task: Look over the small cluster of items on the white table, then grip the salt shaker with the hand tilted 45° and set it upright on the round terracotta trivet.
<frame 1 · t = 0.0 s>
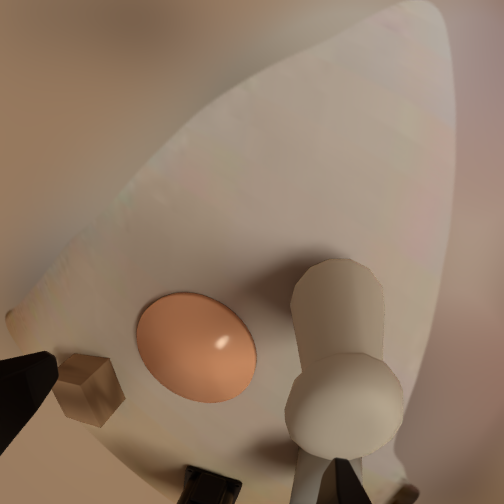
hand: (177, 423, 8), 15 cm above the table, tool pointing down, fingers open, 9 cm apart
walnut block: (99, 375, 29), on the table
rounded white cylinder: (329, 452, 25), on the table
salt shaker: (336, 289, 21), on the table
terracotta trivet: (195, 349, 25), on the table
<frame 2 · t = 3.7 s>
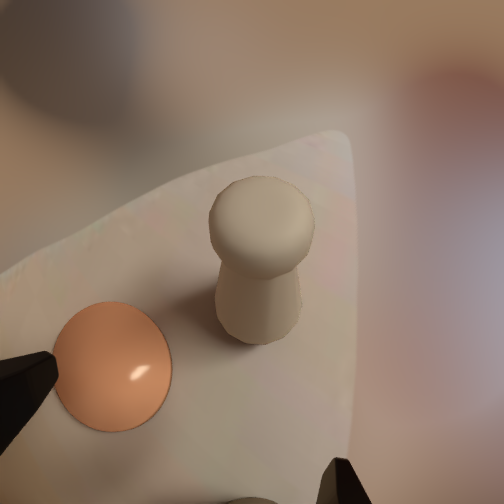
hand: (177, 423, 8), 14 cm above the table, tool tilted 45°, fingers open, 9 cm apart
salt shaker: (258, 313, 24), on the table
terracotta trivet: (109, 367, 21), on the table
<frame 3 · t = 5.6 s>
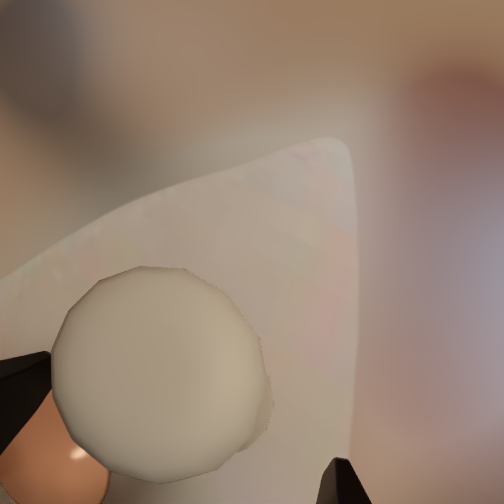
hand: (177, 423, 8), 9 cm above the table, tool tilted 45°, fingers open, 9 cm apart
salt shaker: (217, 401, 16), on the table
terracotta trivet: (42, 448, 14), on the table
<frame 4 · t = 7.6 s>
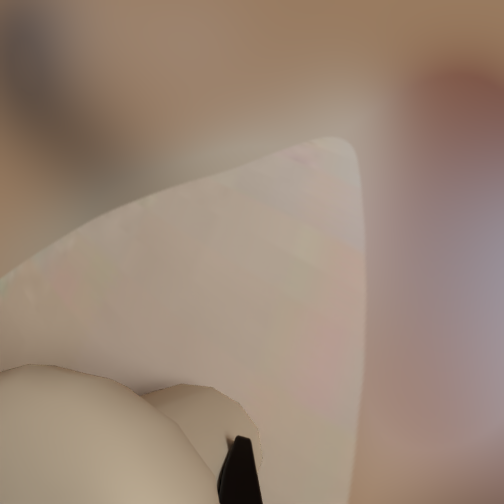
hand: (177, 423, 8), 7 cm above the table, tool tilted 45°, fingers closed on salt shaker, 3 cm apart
salt shaker: (200, 445, 13), on the table, touching gripper
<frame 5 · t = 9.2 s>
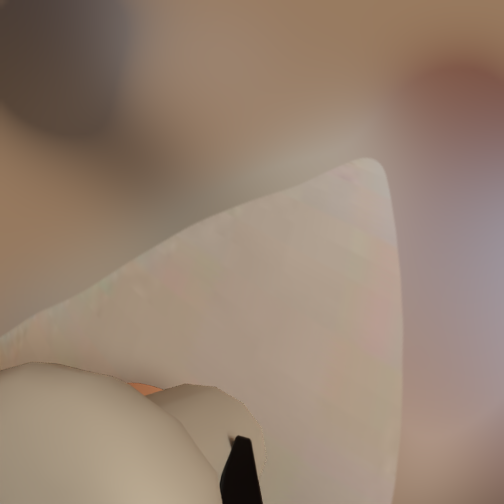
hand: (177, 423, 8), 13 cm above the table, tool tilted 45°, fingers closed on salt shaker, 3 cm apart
salt shaker: (204, 445, 13), point 6 cm above the table, touching gripper
when the fingers open (8 cm above the table, at t = 11.1 s): salt shaker stays where it is, resting on terracotta trivet.
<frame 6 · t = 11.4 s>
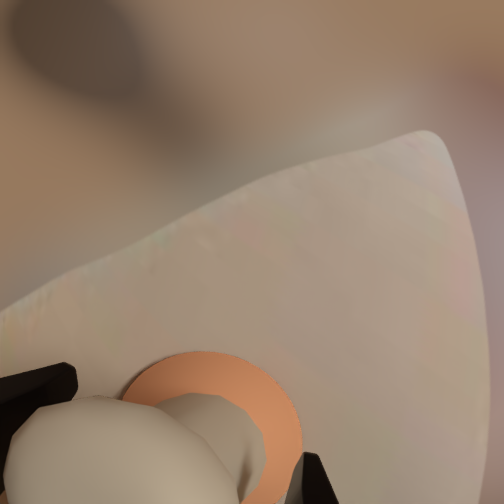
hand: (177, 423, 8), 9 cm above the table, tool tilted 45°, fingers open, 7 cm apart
salt shaker: (207, 448, 14), point 1 cm above the table, touching terracotta trivet
terracotta trivet: (206, 441, 15), on the table
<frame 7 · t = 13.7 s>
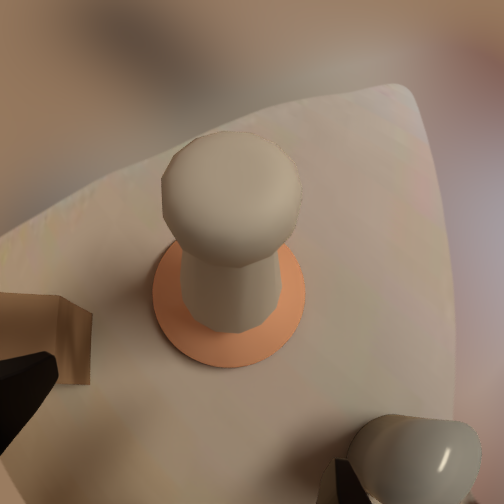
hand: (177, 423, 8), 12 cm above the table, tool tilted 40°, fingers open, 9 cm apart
walnut block: (61, 346, 19), on the table
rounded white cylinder: (386, 453, 18), on the table
salt shaker: (231, 294, 21), point 1 cm above the table, touching terracotta trivet
terracotta trivet: (228, 292, 21), on the table
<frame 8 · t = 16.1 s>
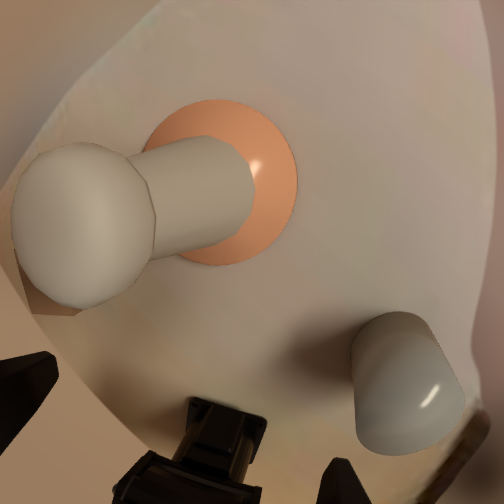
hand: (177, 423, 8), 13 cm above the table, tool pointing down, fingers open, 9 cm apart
walnut block: (83, 261, 23), on the table
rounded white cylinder: (392, 350, 20), on the table
salt shaker: (215, 187, 19), point 1 cm above the table, touching terracotta trivet
terracotta trivet: (214, 182, 19), on the table
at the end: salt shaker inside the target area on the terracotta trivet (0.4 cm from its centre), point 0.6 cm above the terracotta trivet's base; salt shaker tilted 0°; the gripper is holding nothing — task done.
